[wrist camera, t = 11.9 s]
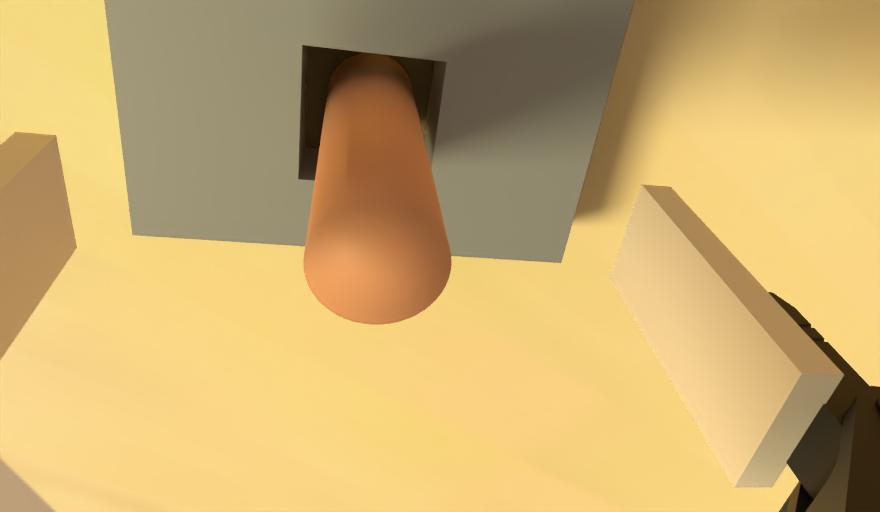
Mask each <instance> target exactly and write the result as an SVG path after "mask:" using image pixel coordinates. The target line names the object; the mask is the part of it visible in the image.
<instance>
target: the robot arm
mask: <svg viewBox="0 0 880 512" xmlns="http://www.w3.org/2000/svg"><path fill="white" fill-rule="evenodd" d="M76 248H77V246H76V241H75V236H74V230H73V225H72V219H71V214H70V209H69V203H68V198H67V192H66V187H65V182H64V176H63V171H62V165H61V160H60V155H59V149H58V144H57V138H56V135H45V134H33V133H21V132H15V133H14V134H13V135H12V136H10V137H9V138H8V139H7V140H6V141H5V142H3V143H2V144H1V145H0V360H1V358H2V357H3V355H4V354H5V353H6V351H7V350H8V348H9V347H10V345H11V344H12V342H13V341H14V339H15V338H16V336H17V335H18V333H19V332H20V330H21V329H22V328H23V326H24V325H25V323H26V322H27V320H28V319H29V317H30V316H31V314H32V313H33V311H34V310H35V308H36V307H37V305H38V304H39V302H40V301H41V300H42V298H43V297H44V295H45V294H46V292H47V291H48V289H49V288H50V286H51V285H52V283H53V282H54V280H55V279H56V277H57V276H58V274H59V273H60V272H61V270H62V269H63V267H64V266H65V264H66V263H67V261H68V260H69V258H70V257H71V255H72V254H73V252H74V251H75V249H76ZM610 279H611V280H612V282H613V284H614V286H615V287H616V289H617V291H618V292H619V294H620V296H621V297H622V299H623V301H624V302H625V304H626V306H627V307H628V309H629V311H630V313H631V314H632V316H633V318H634V319H635V321H636V323H637V324H638V326H639V328H640V329H641V331H642V333H643V334H644V336H645V338H646V340H647V341H648V343H649V345H650V346H651V348H652V350H653V351H654V353H655V355H656V356H657V358H658V360H659V361H660V363H661V365H662V367H663V368H664V370H665V372H666V373H667V375H668V377H669V378H670V380H671V382H672V383H673V385H674V387H675V388H676V390H677V392H678V394H679V395H680V397H681V399H682V400H683V402H684V404H685V405H686V407H687V409H688V410H689V412H690V414H691V415H692V417H693V419H694V421H695V422H696V424H697V426H698V427H699V429H700V431H701V432H702V434H703V436H704V437H705V439H706V441H707V442H708V444H709V446H710V448H711V449H712V451H713V453H714V454H715V456H716V458H717V459H718V461H719V463H720V464H721V466H722V468H723V469H724V471H725V473H726V475H727V476H728V478H729V480H730V481H731V483H732V485H733V486H734V488H743V487H773V485H774V484H775V482H776V481H777V479H778V478H779V476H780V474H781V473H782V471H783V470H784V468H785V467H786V465H787V464H788V465H789V467H790V468H791V470H792V471H793V473H794V474H795V475H796V477H797V478H798V480H799V483H798V484H797V486H796V487H795V489H794V490H793V491H792V493H791V494H790V496H789V497H788V499H787V500H786V502H785V503H784V505H783V506H782V508H781V509H780V511H779V512H880V387H876V386H869V385H868V384H867V383H866V382H865V381H864V380H863V379H862V378H861V377H860V376H859V375H858V374H857V373H856V371H855V370H854V369H853V368H852V367H851V366H850V365H849V364H848V363H847V362H846V361H845V360H844V359H843V358H842V357H841V356H840V355H839V354H838V353H837V351H836V350H835V349H834V348H833V347H832V346H831V345H830V344H829V343H828V342H824V338H823V337H822V336H821V335H820V334H819V333H818V332H817V330H816V329H815V328H811V324H810V323H809V322H808V321H807V320H806V319H805V318H804V317H803V316H802V315H801V314H800V313H799V312H798V311H797V309H796V308H794V307H793V306H791V305H790V304H788V303H787V302H786V301H784V300H783V299H781V298H780V297H778V296H777V295H775V294H774V293H772V292H767V291H766V290H765V289H764V287H763V286H762V285H761V284H760V283H759V282H758V281H757V280H756V279H755V278H754V277H753V276H752V275H751V273H750V272H749V271H748V270H747V269H746V268H745V267H744V266H743V265H742V264H741V263H740V262H739V260H738V259H737V258H736V257H735V256H734V255H733V254H732V253H731V252H730V251H729V250H728V249H727V247H726V246H725V245H724V244H723V243H722V242H721V241H720V240H719V239H718V238H717V237H716V236H715V234H714V233H713V232H712V231H711V230H710V229H709V228H708V227H707V226H706V225H705V224H704V223H703V222H702V220H701V219H700V218H699V217H698V216H697V215H696V214H695V213H694V212H693V211H692V210H691V209H690V207H689V206H688V205H687V204H686V203H685V202H684V201H683V200H682V199H681V198H680V197H679V196H678V194H677V193H676V192H675V191H674V190H673V189H672V188H671V187H665V186H653V185H641V188H640V191H639V194H638V197H637V199H636V202H635V205H634V208H633V211H632V214H631V217H630V220H629V223H628V226H627V229H626V231H625V234H624V237H623V240H622V243H621V246H620V249H619V252H618V255H617V258H616V261H615V263H614V266H613V269H612V272H611V275H610Z"/></svg>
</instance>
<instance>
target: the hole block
mask: <svg viewBox="0 0 880 512" xmlns="http://www.w3.org/2000/svg"><path fill="white" fill-rule="evenodd" d="M104 1H105V9H106V17H107V26H108V34H109V42H110V51H111V59H112V67H113V76H114V84H115V92H116V101H117V109H118V117H119V126H120V134H121V142H122V151H123V159H124V167H125V176H126V184H127V192H128V201H129V209H130V217H131V226H132V234H133V235H140V236H155V237H170V238H186V239H201V240H216V241H232V242H247V243H262V244H278V245H293V246H306V239H307V232H308V225H309V218H310V211H311V204H312V197H313V190H314V183H315V176H316V169H317V162H318V155H319V148H311V147H304V145H305V116H306V87H307V58H308V46H315V47H323V48H332V49H340V50H349V51H358V52H366V53H375V54H384V55H392V56H401V57H409V58H418V59H427V60H434V68H433V75H432V83H431V90H430V97H429V105H428V112H427V120H426V127H425V135H424V140H425V144H426V149H427V153H428V157H429V161H430V166H431V170H432V174H433V179H434V183H435V187H436V191H437V196H438V200H439V204H440V209H441V213H442V217H443V222H444V226H445V230H446V234H447V239H448V243H449V247H450V252H451V256H462V257H478V258H493V259H508V260H524V261H539V262H554V263H561V262H562V258H563V254H564V251H565V247H566V244H567V240H568V237H569V233H570V229H571V226H572V222H573V219H574V215H575V212H576V208H577V204H578V201H579V197H580V194H581V190H582V186H583V183H584V179H585V176H586V172H587V169H588V165H589V161H590V158H591V154H592V151H593V147H594V144H595V140H596V136H597V133H598V129H599V126H600V122H601V118H602V115H603V111H604V108H605V104H606V101H607V97H608V93H609V90H610V86H611V83H612V79H613V76H614V72H615V68H616V65H617V61H618V58H619V54H620V50H621V47H622V43H623V40H624V36H625V33H626V29H627V25H628V22H629V18H630V15H631V11H632V8H633V4H634V0H104Z"/></svg>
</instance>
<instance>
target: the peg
mask: <svg viewBox="0 0 880 512" xmlns="http://www.w3.org/2000/svg"><path fill="white" fill-rule="evenodd" d="M450 271H451V252H450V247H449V243H448V239H447V234H446V230H445V226H444V222H443V217H442V213H441V209H440V204H439V200H438V196H437V191H436V187H435V183H434V179H433V174H432V170H431V166H430V161H429V157H428V153H427V149H426V144H425V140H424V136H423V131H422V127H421V123H420V119H419V114H418V110H417V106H416V101H415V97H414V93H413V88H412V84H411V81H410V79H409V77H408V75H407V73H406V72H405V70H404V69H403V68H402V67H401V66H400V65H399V64H398V63H397V62H396V61H394V60H393V59H391V58H389V57H387V56H385V55H382V54H375V53H361V54H357V55H354V56H352V57H350V58H348V59H346V60H345V61H343V62H342V63H341V64H340V65H339V66H338V67H337V68H336V70H335V71H334V73H333V74H332V76H331V79H330V82H329V86H328V92H327V99H326V106H325V113H324V120H323V127H322V134H321V141H320V148H319V155H318V162H317V169H316V176H315V183H314V190H313V197H312V204H311V211H310V218H309V225H308V232H307V239H306V246H305V253H304V273H305V277H306V280H307V283H308V286H309V287H310V289H311V291H312V293H313V294H314V295H315V297H316V298H317V299H318V300H319V301H320V302H321V303H322V304H323V305H324V306H325V307H326V308H327V309H329V310H330V311H331V312H333V313H335V314H336V315H338V316H340V317H343V318H345V319H348V320H351V321H354V322H358V323H363V324H389V323H394V322H399V321H402V320H405V319H408V318H410V317H412V316H415V315H417V314H418V313H420V312H422V311H423V310H425V309H426V308H427V307H428V306H430V305H431V304H432V303H433V302H434V301H435V300H436V299H437V298H438V296H439V295H440V294H441V292H442V291H443V289H444V287H445V286H446V283H447V281H448V278H449V275H450Z"/></svg>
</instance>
